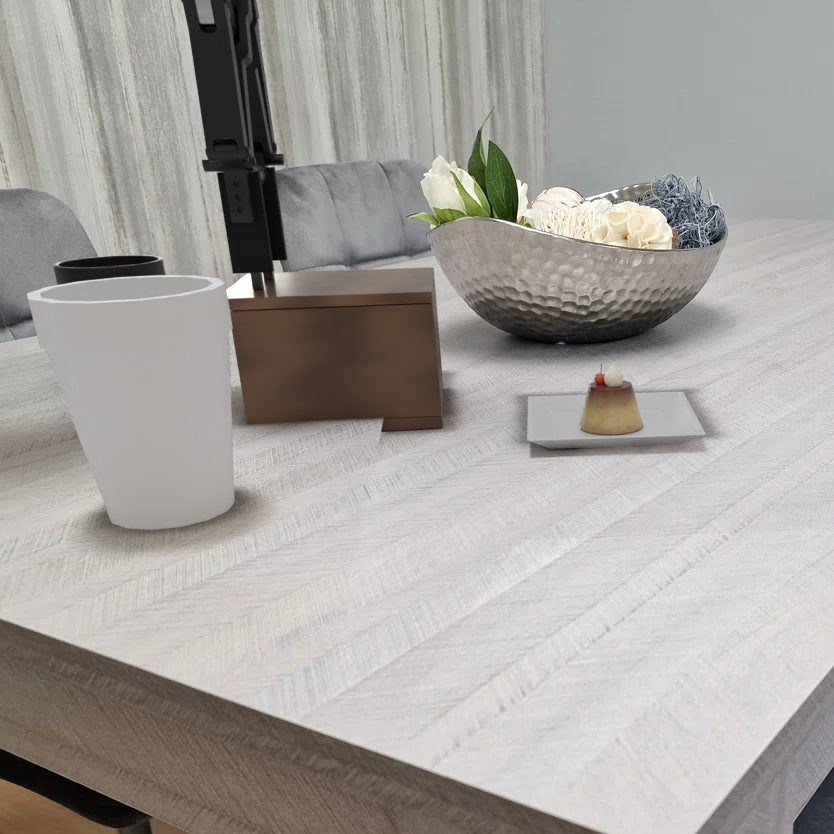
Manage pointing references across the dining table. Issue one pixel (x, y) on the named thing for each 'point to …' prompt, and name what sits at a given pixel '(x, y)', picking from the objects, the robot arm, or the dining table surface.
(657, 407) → the dessert
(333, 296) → the wooden box lid
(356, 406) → the basket
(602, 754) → the dining table surface
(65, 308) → the foam cup
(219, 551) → the dining table surface
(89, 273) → the mug
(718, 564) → the dining table surface
